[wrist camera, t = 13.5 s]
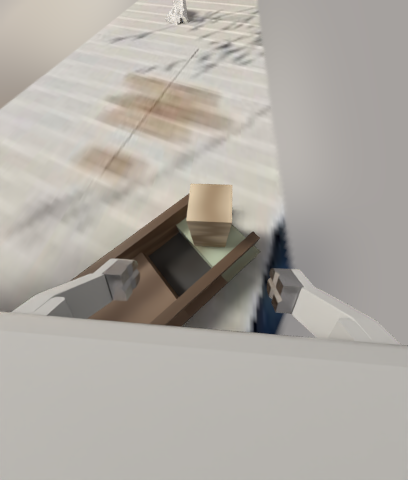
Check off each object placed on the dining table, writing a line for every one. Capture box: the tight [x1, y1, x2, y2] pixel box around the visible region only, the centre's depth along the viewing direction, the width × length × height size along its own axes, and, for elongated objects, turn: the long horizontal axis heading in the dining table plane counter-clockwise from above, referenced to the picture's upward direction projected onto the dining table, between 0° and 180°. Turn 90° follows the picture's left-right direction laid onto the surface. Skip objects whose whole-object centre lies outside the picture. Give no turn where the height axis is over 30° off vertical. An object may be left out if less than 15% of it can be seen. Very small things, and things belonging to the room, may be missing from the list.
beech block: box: [186, 184, 232, 247], centre depth 20 cm, size 4×4×8 cm
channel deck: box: [69, 193, 260, 327], centre depth 22 cm, size 14×24×6 cm, turn 131°
